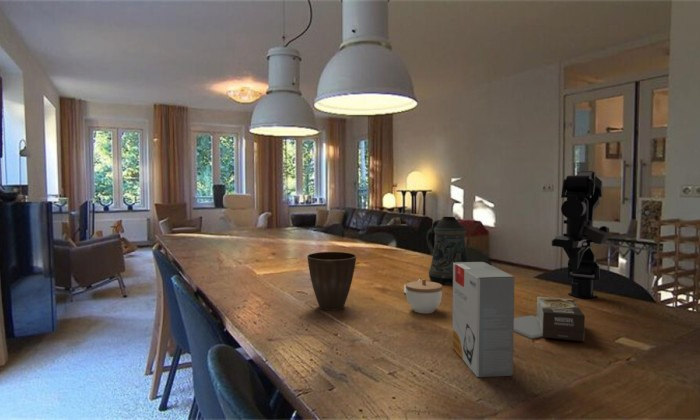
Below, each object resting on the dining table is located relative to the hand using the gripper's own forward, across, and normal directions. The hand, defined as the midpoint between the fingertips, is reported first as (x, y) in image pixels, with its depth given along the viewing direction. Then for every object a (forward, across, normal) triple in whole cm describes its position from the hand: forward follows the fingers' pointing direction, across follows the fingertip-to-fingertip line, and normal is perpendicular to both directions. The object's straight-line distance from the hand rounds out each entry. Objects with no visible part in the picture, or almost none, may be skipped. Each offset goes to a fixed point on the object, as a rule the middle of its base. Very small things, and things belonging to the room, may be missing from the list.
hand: (575, 268), depth 131 cm
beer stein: (+12, -1, +49) cm, 51 cm away
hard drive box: (+12, -57, -8) cm, 59 cm away
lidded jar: (+12, -38, +26) cm, 48 cm away
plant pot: (+12, -58, +46) cm, 75 cm away
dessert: (+13, -21, +44) cm, 50 cm away
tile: (+12, -27, -2) cm, 30 cm away
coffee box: (+8, -18, -3) cm, 21 cm away
